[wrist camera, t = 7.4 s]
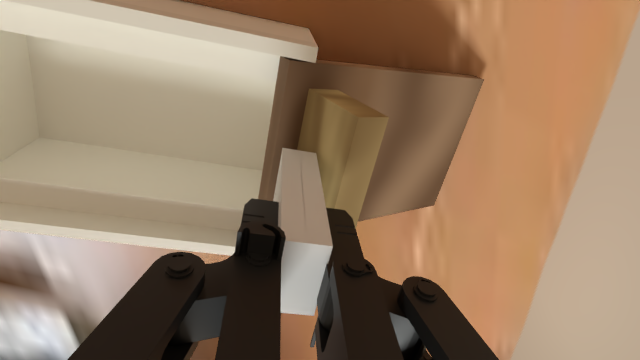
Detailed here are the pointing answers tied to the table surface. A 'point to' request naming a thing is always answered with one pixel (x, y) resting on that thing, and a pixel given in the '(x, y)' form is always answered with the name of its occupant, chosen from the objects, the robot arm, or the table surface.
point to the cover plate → (404, 135)
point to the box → (136, 118)
